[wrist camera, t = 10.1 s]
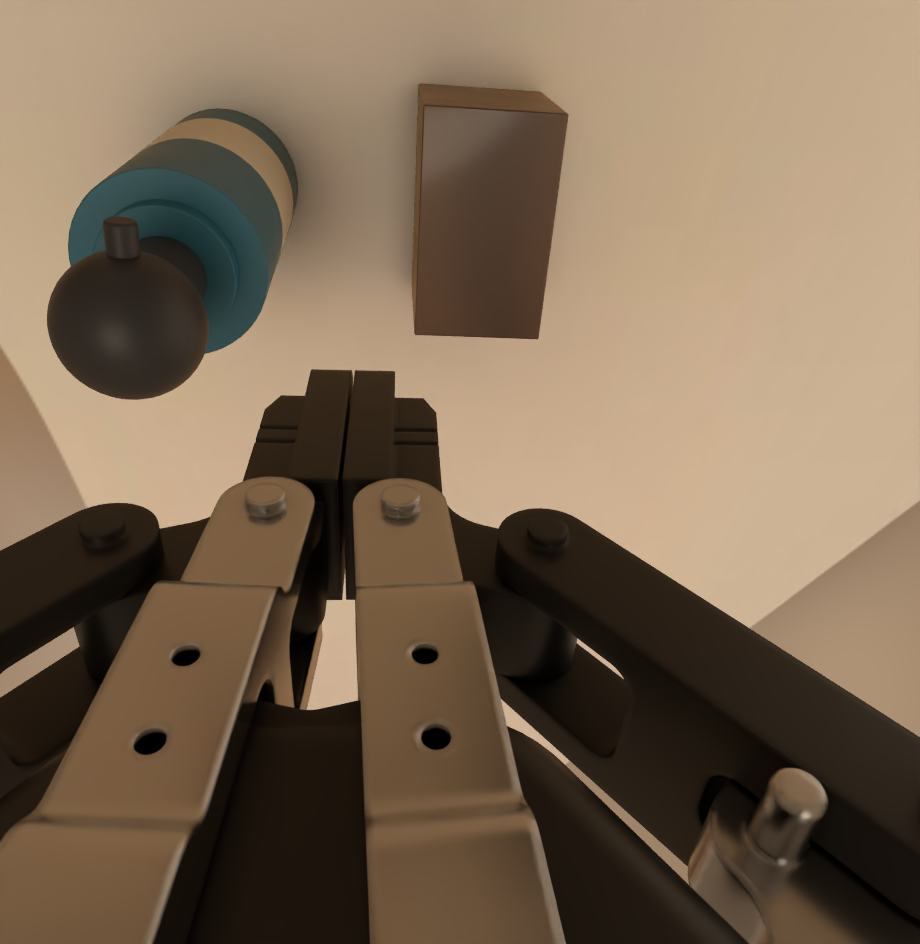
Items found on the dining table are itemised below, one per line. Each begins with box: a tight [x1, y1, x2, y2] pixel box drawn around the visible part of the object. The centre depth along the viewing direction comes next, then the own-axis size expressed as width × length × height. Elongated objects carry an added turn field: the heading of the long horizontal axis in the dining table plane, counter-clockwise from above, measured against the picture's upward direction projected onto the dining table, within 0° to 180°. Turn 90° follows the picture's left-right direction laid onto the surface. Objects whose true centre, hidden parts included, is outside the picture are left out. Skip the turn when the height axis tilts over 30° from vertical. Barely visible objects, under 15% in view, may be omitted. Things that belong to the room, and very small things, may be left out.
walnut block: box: [412, 84, 568, 339], centre depth 37 cm, size 6×10×7 cm, turn 176°
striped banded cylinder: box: [47, 109, 298, 400], centre depth 30 cm, size 17×7×19 cm
